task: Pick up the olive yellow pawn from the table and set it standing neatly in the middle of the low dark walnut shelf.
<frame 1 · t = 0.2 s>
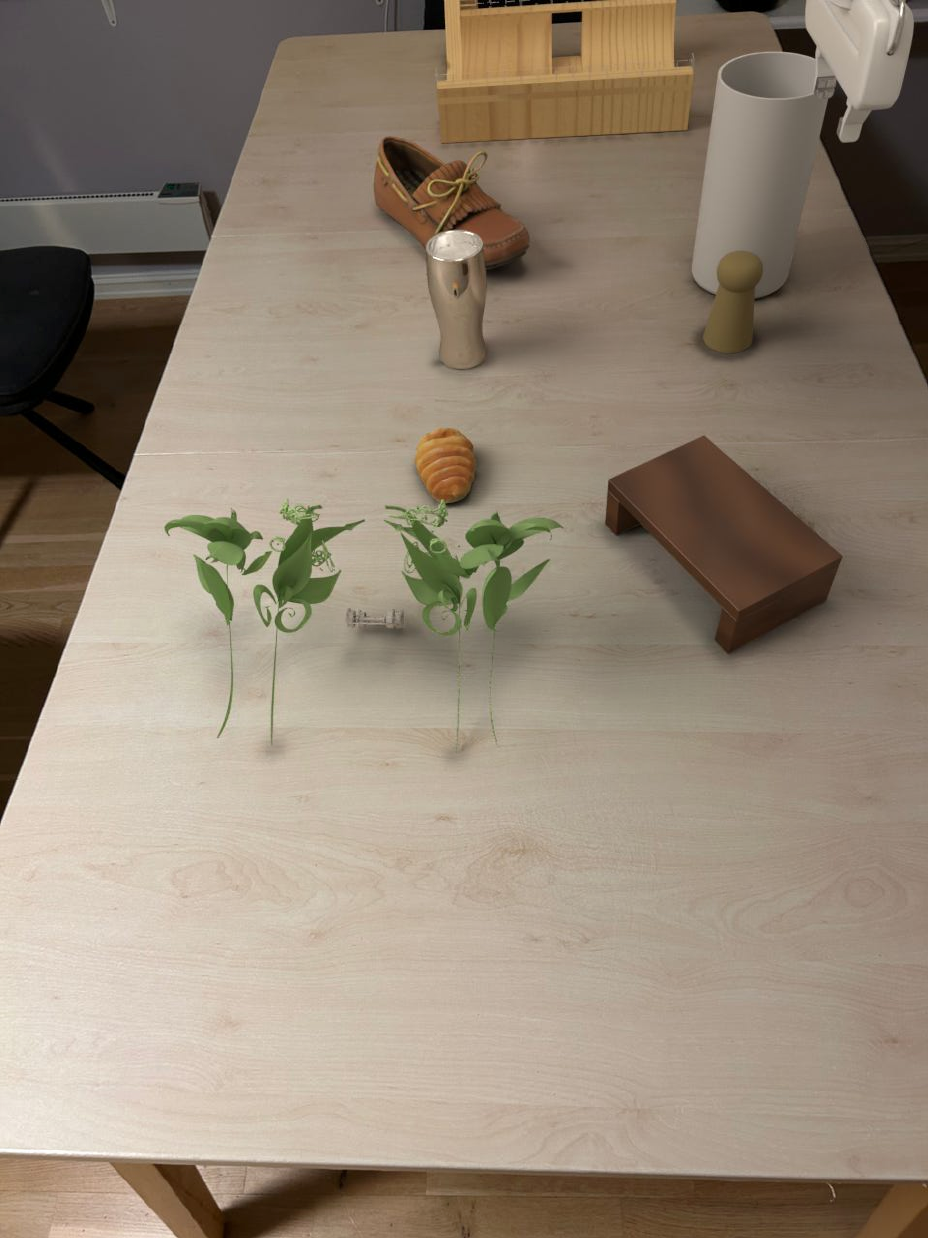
hand: (833, 116, 93), 27 cm above the table, tool pointing down, fingers open, 8 cm apart
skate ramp: (559, 91, 163), on the table
olive yellow pawn: (727, 339, 117), on the table
moccasin: (450, 239, 135), on the table
cylinder vase: (738, 276, 125), on the table
shelf: (710, 561, 94), on the table
pastry: (449, 474, 105), on the table
beer glass: (463, 356, 118), on the table
plant cuttings: (376, 672, 89), on the table
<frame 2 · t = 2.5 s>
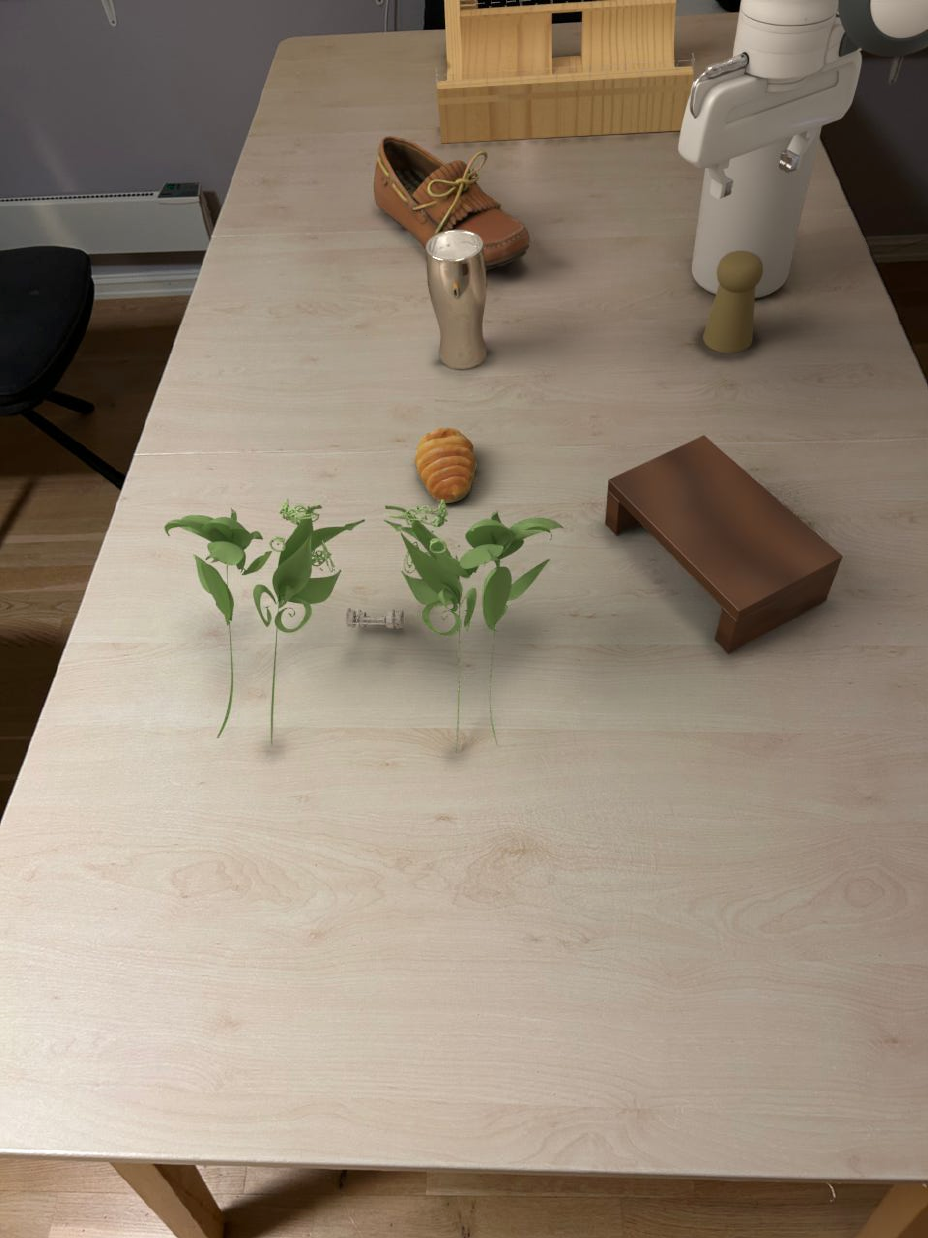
hand: (754, 182, 101), 20 cm above the table, tool pointing down, fingers open, 8 cm apart
nothing on the table moved.
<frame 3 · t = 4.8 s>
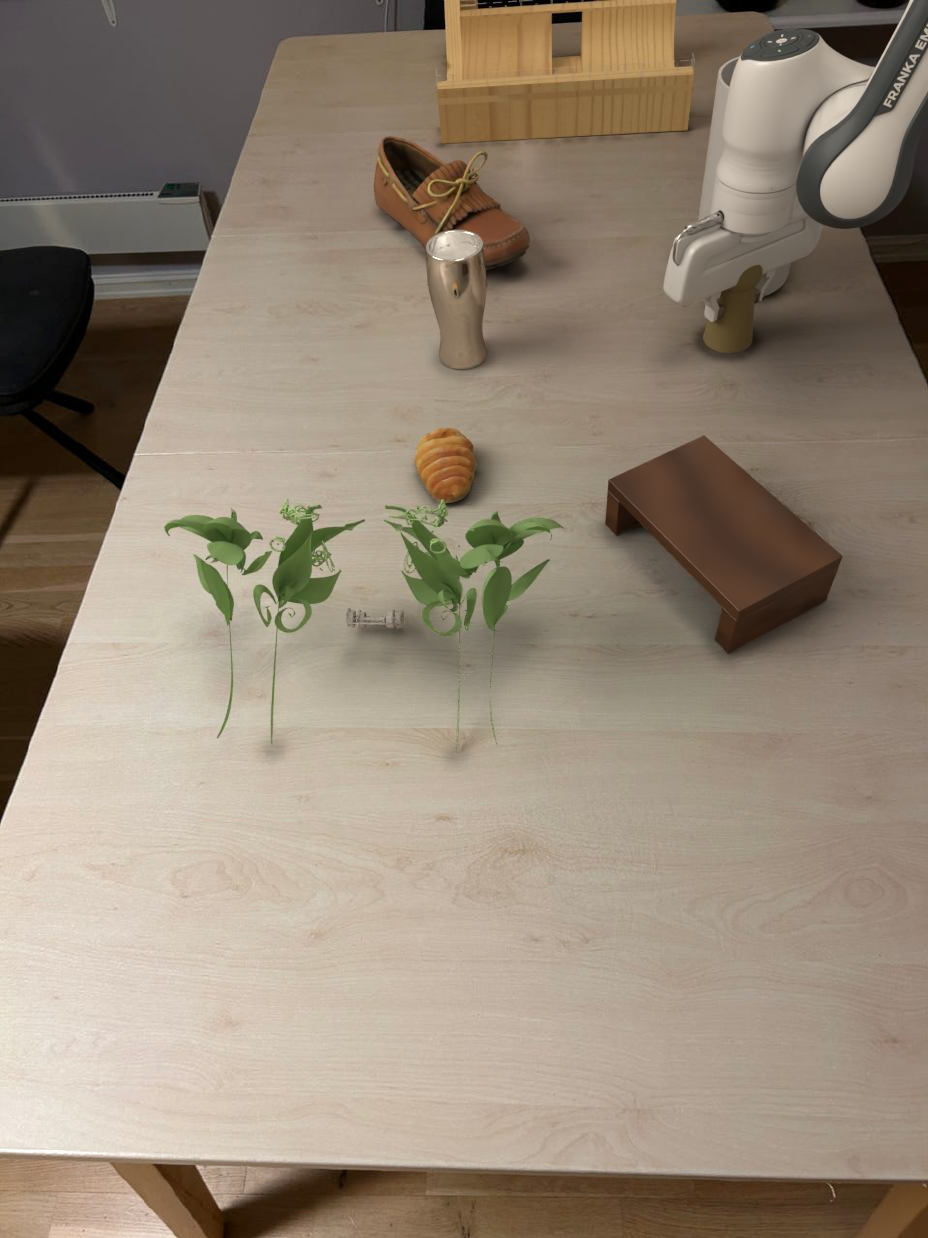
hand: (733, 309, 113), 4 cm above the table, tool pointing down, fingers closed on olive yellow pawn, 4 cm apart
olive yellow pawn: (727, 339, 117), on the table, touching gripper
everything else where it was.
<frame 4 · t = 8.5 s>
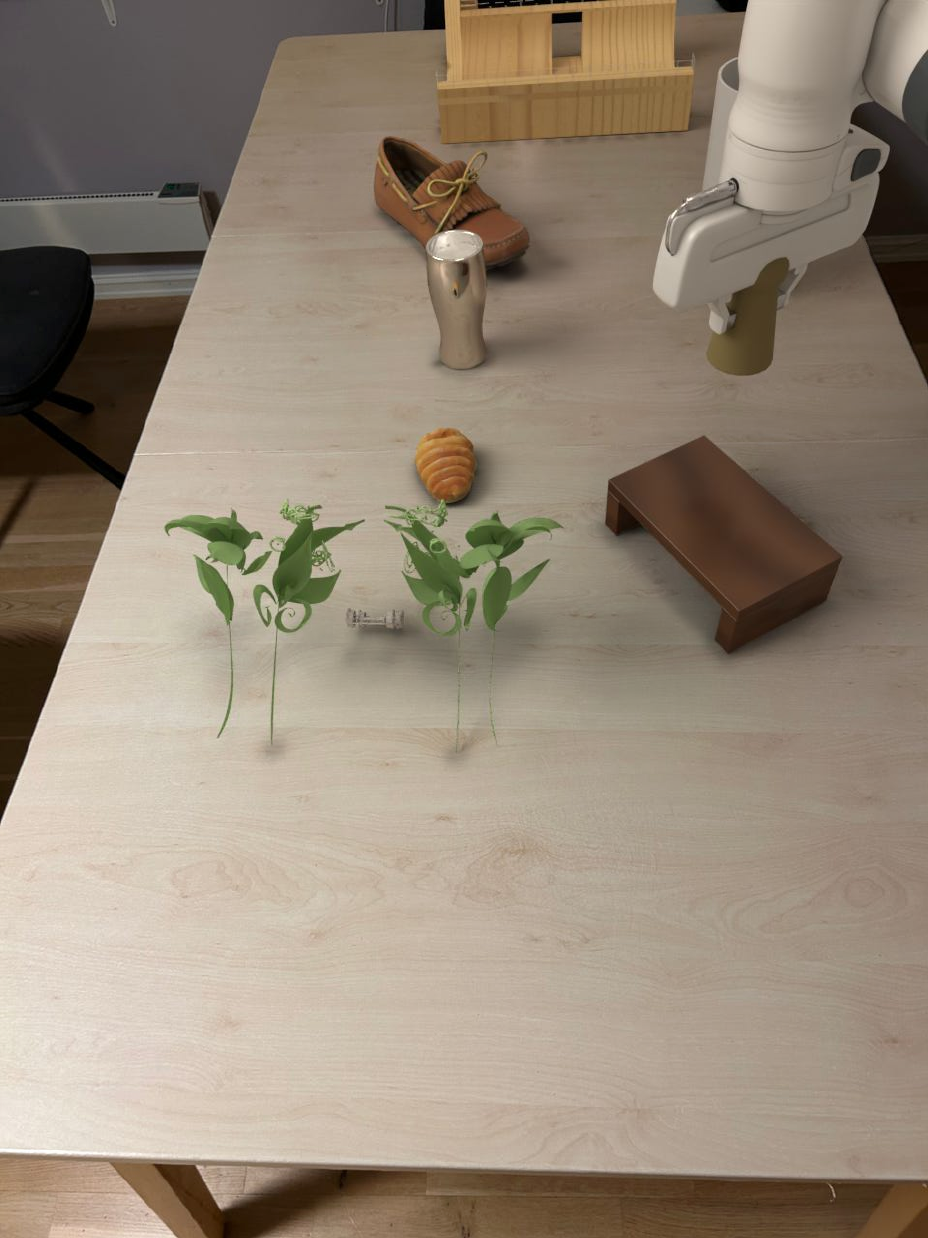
hand: (748, 317, 84), 21 cm above the table, tool pointing down, fingers closed on olive yellow pawn, 4 cm apart
olive yellow pawn: (739, 357, 87), point 17 cm above the table, touching gripper
everything else where it was.
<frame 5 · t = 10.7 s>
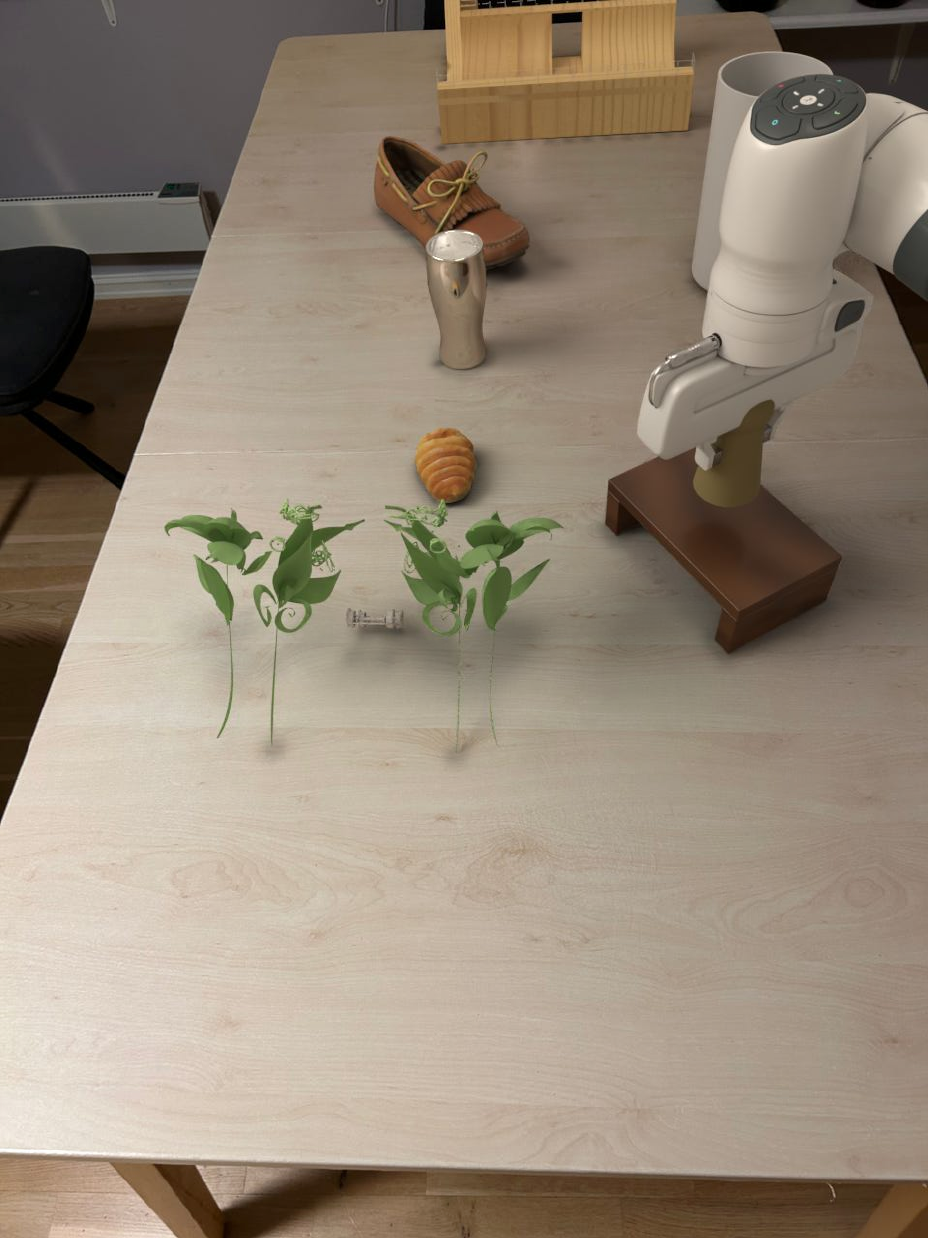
hand: (734, 450, 83), 15 cm above the table, tool pointing down, fingers closed on olive yellow pawn, 4 cm apart
olive yellow pawn: (725, 485, 86), point 10 cm above the table, touching gripper
everything else where it was.
when the fingers open (11 cm above the table, at t = 12.2 s): olive yellow pawn stays where it is, resting on shelf.
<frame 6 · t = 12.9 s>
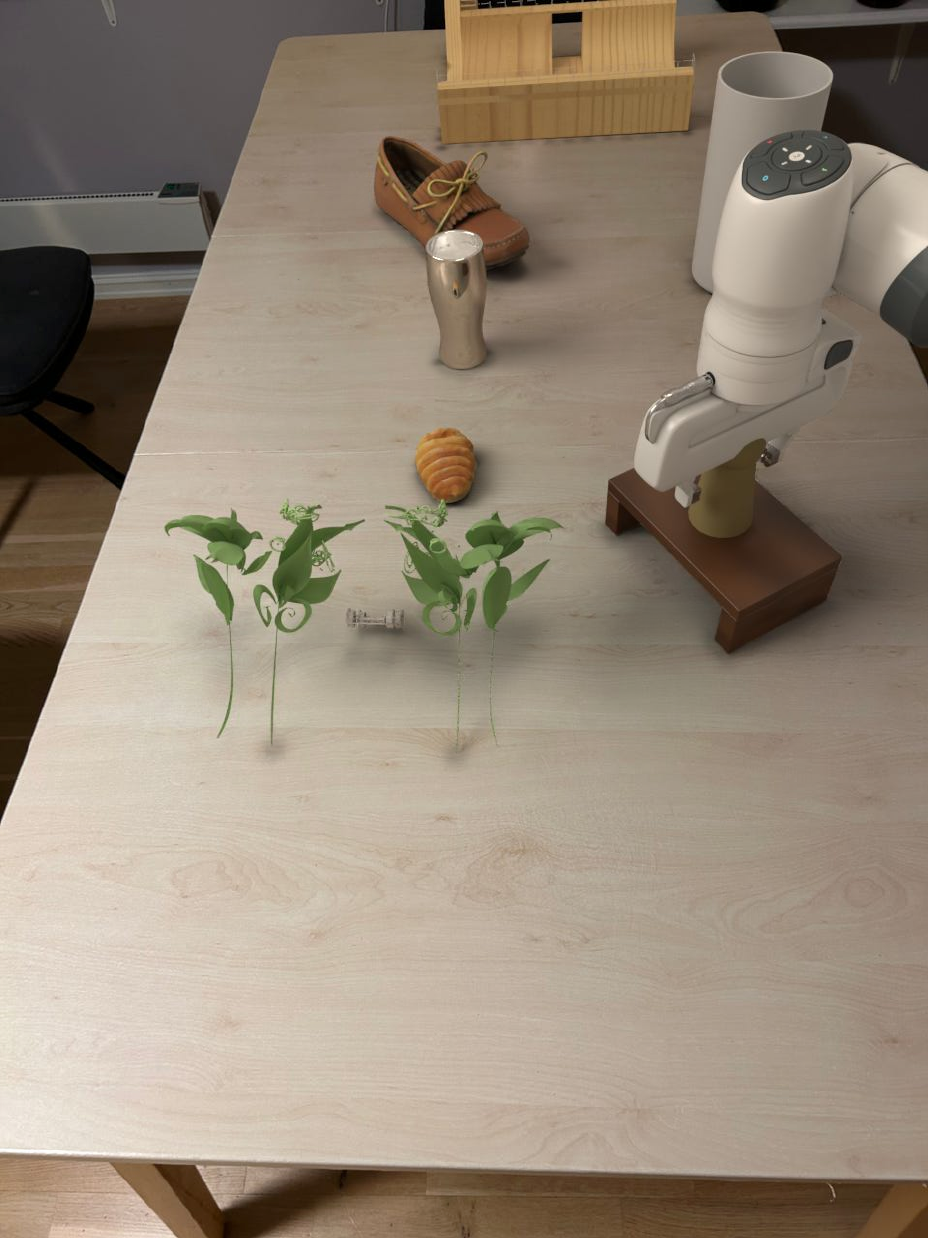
hand: (728, 480, 86), 11 cm above the table, tool pointing down, fingers open, 8 cm apart
olive yellow pawn: (719, 516, 89), point 6 cm above the table, touching shelf
everything else where it was.
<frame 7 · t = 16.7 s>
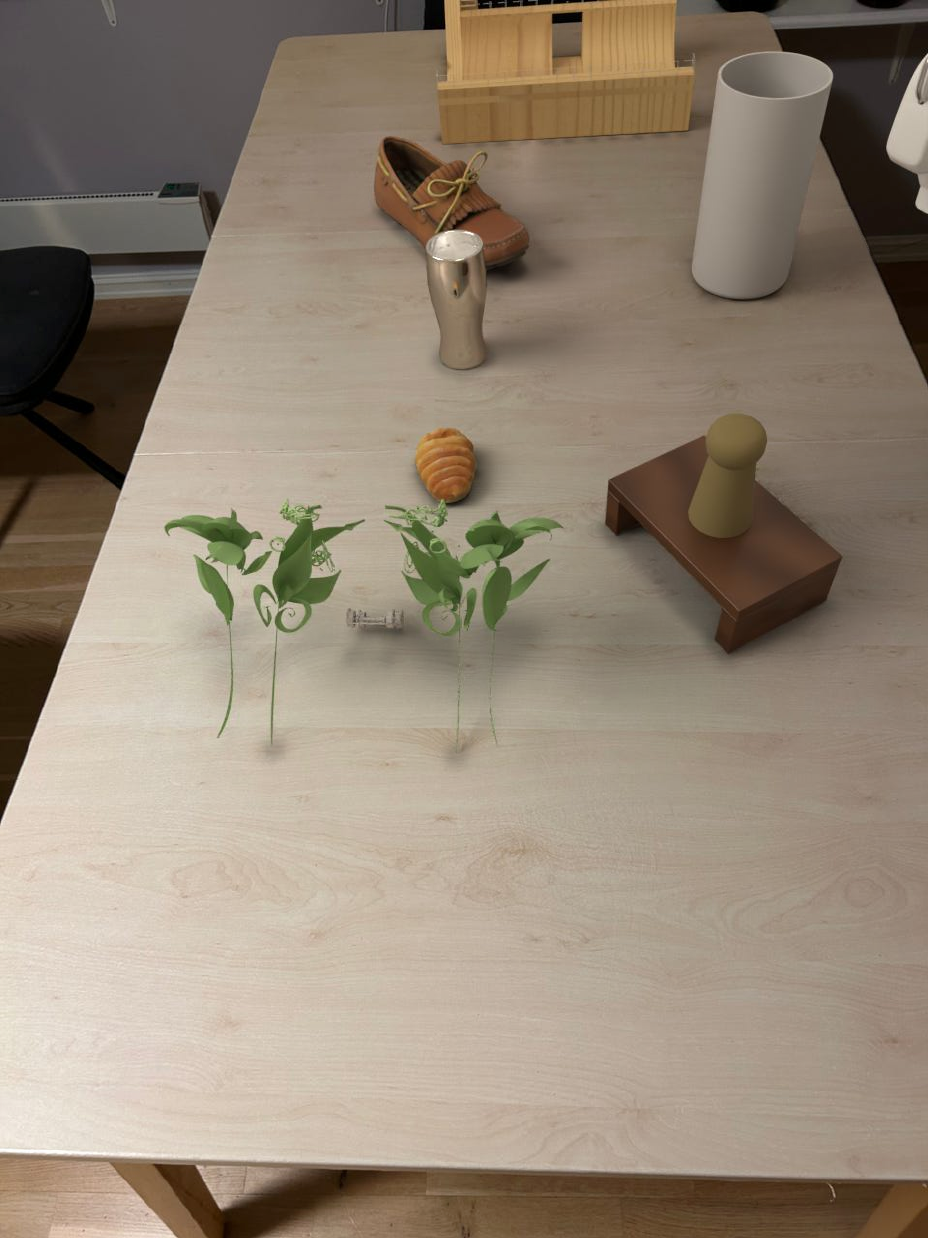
nothing on the table moved.
at the end: olive yellow pawn inside the target area on the shelf (0.1 cm from its centre), point 6.3 cm above the shelf's base; olive yellow pawn tilted 0°; the gripper is holding nothing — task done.
